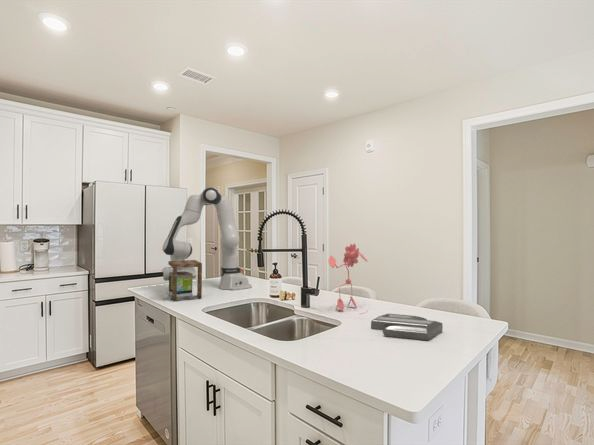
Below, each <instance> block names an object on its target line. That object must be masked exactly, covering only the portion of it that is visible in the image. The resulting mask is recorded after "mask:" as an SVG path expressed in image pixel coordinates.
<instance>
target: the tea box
mask: <svg viewBox="0 0 594 445" xmlns="http://www.w3.org/2000/svg"><path fill="white" fill-rule="evenodd" d="M193 280H194V279H193V274H191V273H188V272H185V271H183V272H177V297H184V296H193ZM172 293H173V272H169V280H168V297H170V298H171V295H172Z"/></svg>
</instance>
